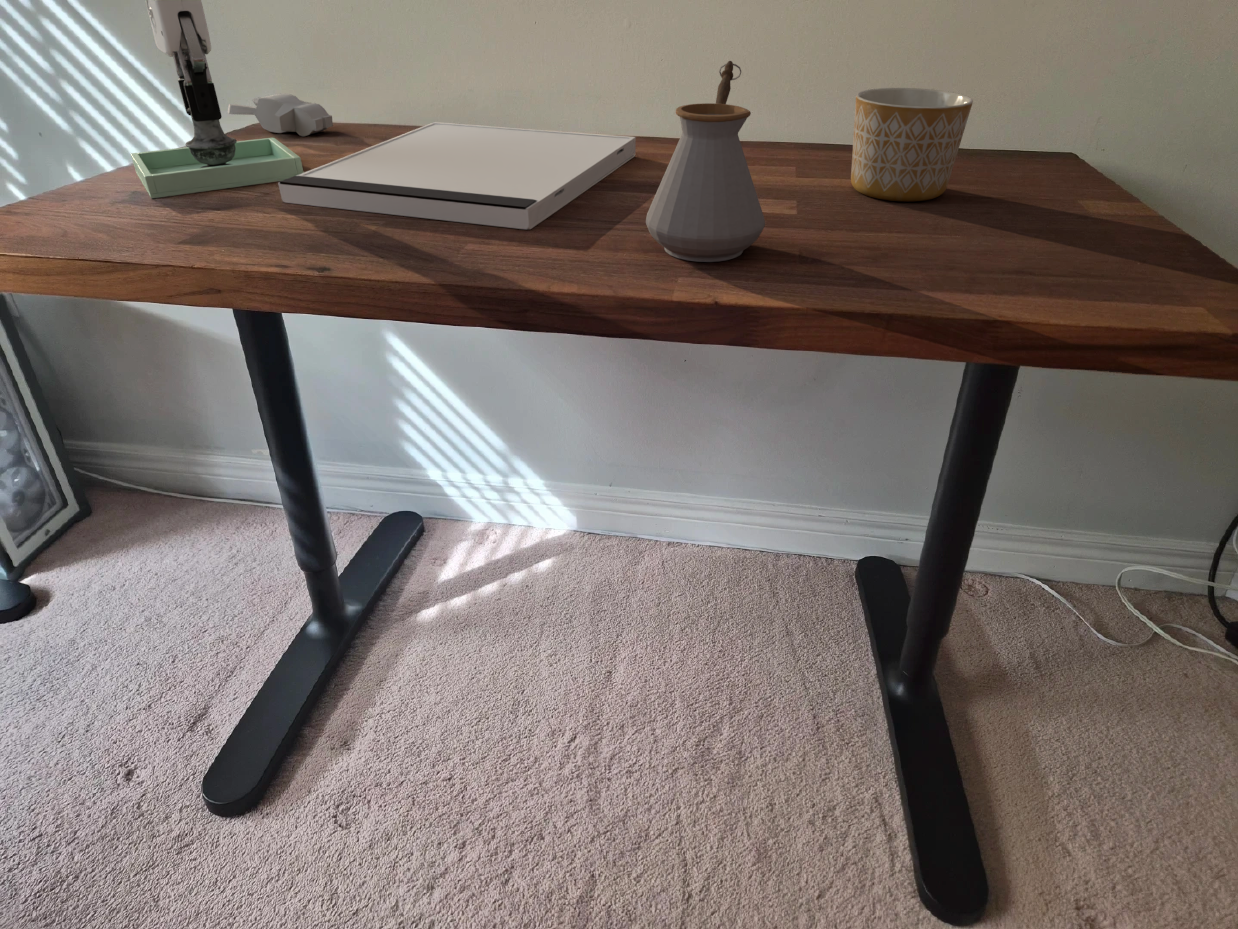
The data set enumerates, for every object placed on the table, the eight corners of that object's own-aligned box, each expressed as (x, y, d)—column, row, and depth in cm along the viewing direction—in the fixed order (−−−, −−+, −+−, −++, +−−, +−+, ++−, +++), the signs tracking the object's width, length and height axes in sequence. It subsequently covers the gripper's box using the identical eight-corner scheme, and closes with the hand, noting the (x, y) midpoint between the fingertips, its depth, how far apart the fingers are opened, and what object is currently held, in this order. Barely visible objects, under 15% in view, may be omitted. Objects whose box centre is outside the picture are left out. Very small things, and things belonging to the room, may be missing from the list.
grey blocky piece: (301, 111, 120) (217, 92, 123) (305, 148, 122) (223, 127, 126) (342, 101, 127) (262, 82, 131) (345, 135, 130) (266, 116, 133)
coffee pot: (757, 273, 76) (774, 96, 68) (634, 264, 78) (636, 91, 70) (772, 208, 93) (787, 61, 85) (671, 202, 95) (676, 57, 87)
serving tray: (151, 198, 96) (144, 176, 95) (136, 173, 106) (130, 153, 105) (304, 177, 104) (300, 157, 103) (278, 156, 114) (273, 137, 113)
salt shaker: (253, 170, 106) (229, 66, 99) (211, 179, 102) (183, 72, 95) (225, 163, 108) (200, 62, 102) (183, 172, 104) (154, 68, 98)
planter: (964, 186, 101) (985, 93, 95) (935, 212, 92) (955, 111, 86) (863, 172, 107) (877, 84, 101) (826, 194, 98) (839, 99, 92)
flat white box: (527, 206, 85) (277, 180, 94) (529, 230, 87) (282, 202, 95) (635, 136, 113) (434, 121, 121) (635, 155, 114) (436, 139, 123)
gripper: (113, -62, 96) (161, 109, 106) (130, -60, 84) (182, 132, 94) (183, -62, 99) (223, 103, 109) (209, -60, 87) (251, 125, 97)
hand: (204, 115), depth 101 cm, fingers closed on salt shaker, 3 cm apart
